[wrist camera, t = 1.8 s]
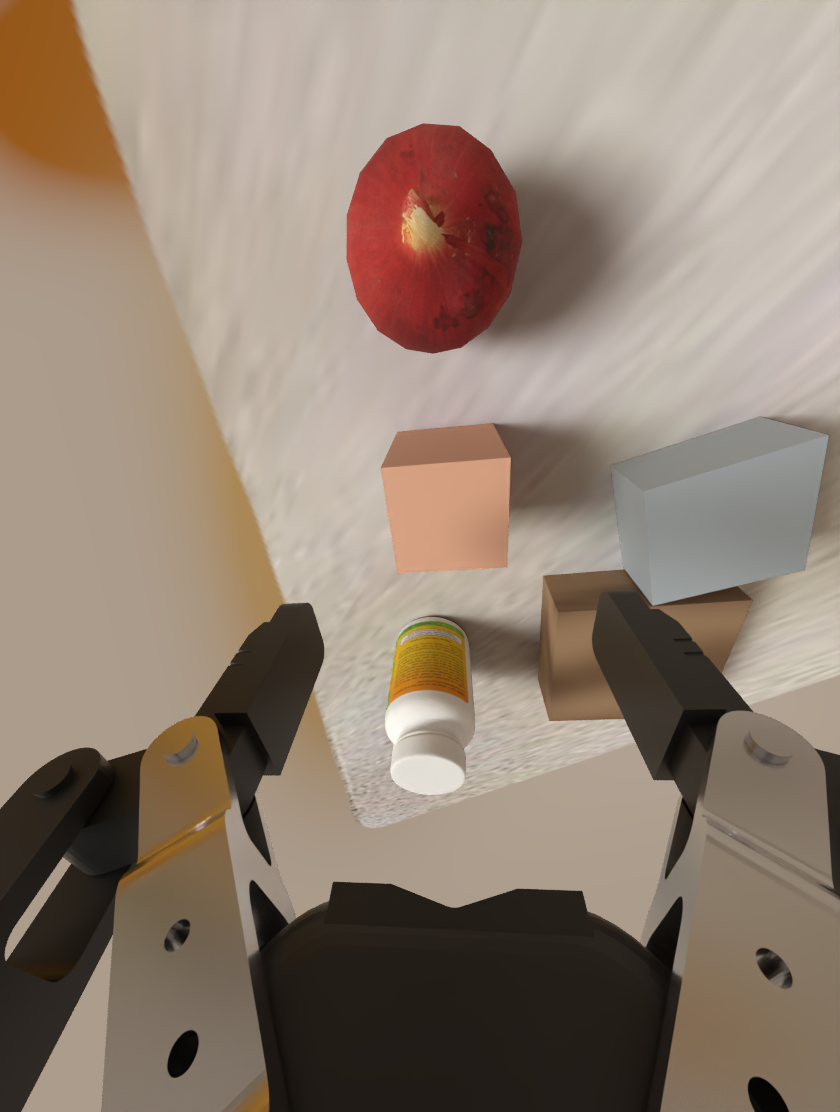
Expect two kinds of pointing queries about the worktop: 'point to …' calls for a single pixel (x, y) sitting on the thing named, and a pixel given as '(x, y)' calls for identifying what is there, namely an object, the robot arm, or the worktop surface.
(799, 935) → the robot arm
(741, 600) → the walnut block
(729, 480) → the slate block
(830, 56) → the worktop surface
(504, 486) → the terracotta block
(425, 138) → the red oval lump
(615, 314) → the worktop surface
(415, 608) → the worktop surface
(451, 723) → the supplement bottle
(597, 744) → the worktop surface
